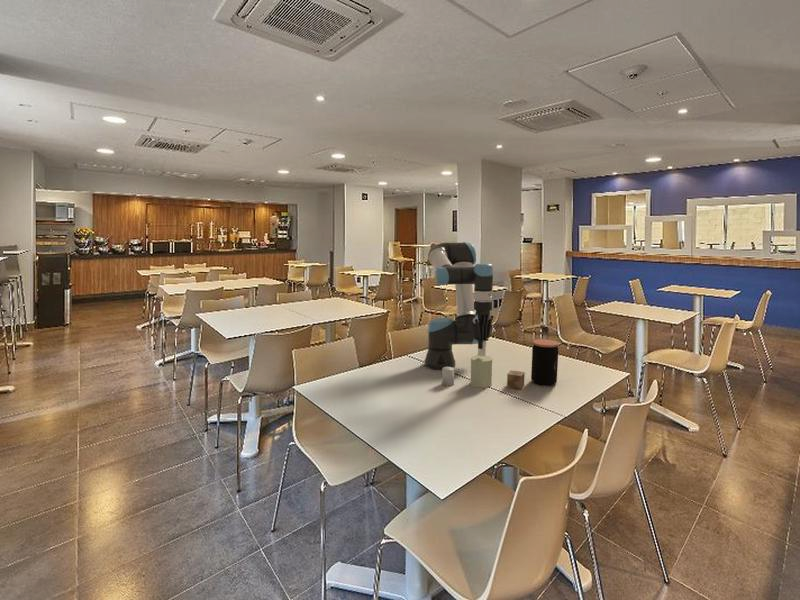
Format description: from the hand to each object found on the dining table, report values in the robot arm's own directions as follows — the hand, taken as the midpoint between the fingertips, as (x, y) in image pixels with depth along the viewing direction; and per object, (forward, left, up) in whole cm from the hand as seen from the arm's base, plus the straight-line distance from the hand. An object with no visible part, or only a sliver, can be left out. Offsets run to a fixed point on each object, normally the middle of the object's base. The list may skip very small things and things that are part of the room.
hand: (481, 355), depth 184 cm
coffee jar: (+18, +21, -13) cm, 31 cm away
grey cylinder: (-10, -10, -13) cm, 19 cm away
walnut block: (+12, +8, -13) cm, 19 cm away
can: (0, 0, -13) cm, 13 cm away
